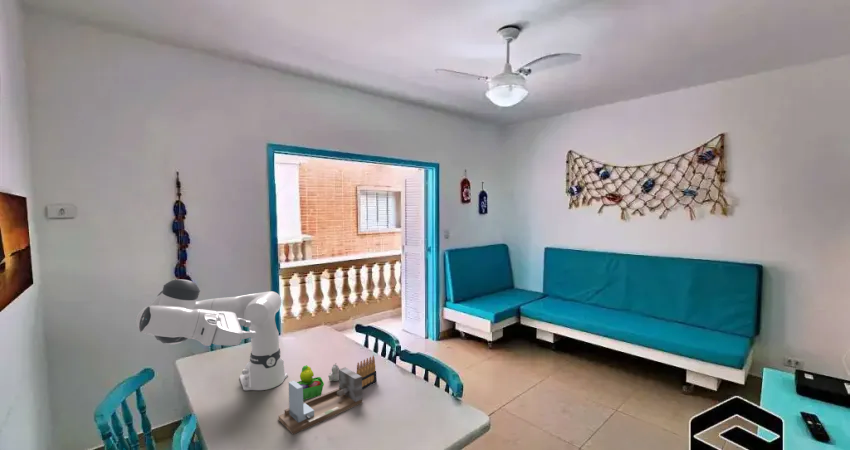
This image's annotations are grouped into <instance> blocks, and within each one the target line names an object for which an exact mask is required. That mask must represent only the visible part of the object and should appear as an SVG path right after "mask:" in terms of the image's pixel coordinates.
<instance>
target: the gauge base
mask: <svg viewBox="0 0 850 450" xmlns="http://www.w3.org/2000/svg"><path fill="white" fill-rule="evenodd" d="M356 373H357V372H354V370H351V369H349V368H347V367H346V366H344V367H342V368H339V380H338V388H336V389H334V390H330V391H329V392H326V393H324V394H321V396H317V397H313V398H310V399H309V400H308V399H307V400H306V401H303V404H304V403H306V404H307V405H308V406H309V407H311V408H312V409H313V410H314V416H312V417H310V420H309V419H305V420H303V421H301V422H299V423H298V422H297V421H296V420H295V419H294V418H293V417H292V416H290V413H289V407H288V408H286V409H284V412H283V413H282V414H280V415H278V421H279V422H280V423H281V424H282V425H283V426H284V427H285V428H286V429H287V430H288V431H289V432H290V433H291V434H293V435H294V434H297V433H299V432H301V431H304V430H305V429H308V428H310V427H312V426H315V425H317V424H319V423H321V422H323V421H325V420H327V419H330V418H332V417H334V416H336V415H338V414H340V413H344V412H346V411H347V410H348V411H349V410H350V409H352V408H355V407H357V406H358V405H361V404H363V390H362V376H360V375H358V374H356Z"/></svg>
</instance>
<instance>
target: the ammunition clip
mask: <svg viewBox="0 0 850 450" xmlns="http://www.w3.org/2000/svg"><path fill="white" fill-rule="evenodd" d="M375 360H376V359H375V356H374V355H372V356H370V357H369V358H368V357H367V358H366V359H363V360H361V361H360V363H359V361H358V362H357V364H356V372H355V373H356V374H358V375H360V376H362V391H363V390H365V389H367V388H369V387H370V386H373V385H374V384H376V383H377V382H378V381H377V370H376V361H375Z"/></svg>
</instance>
